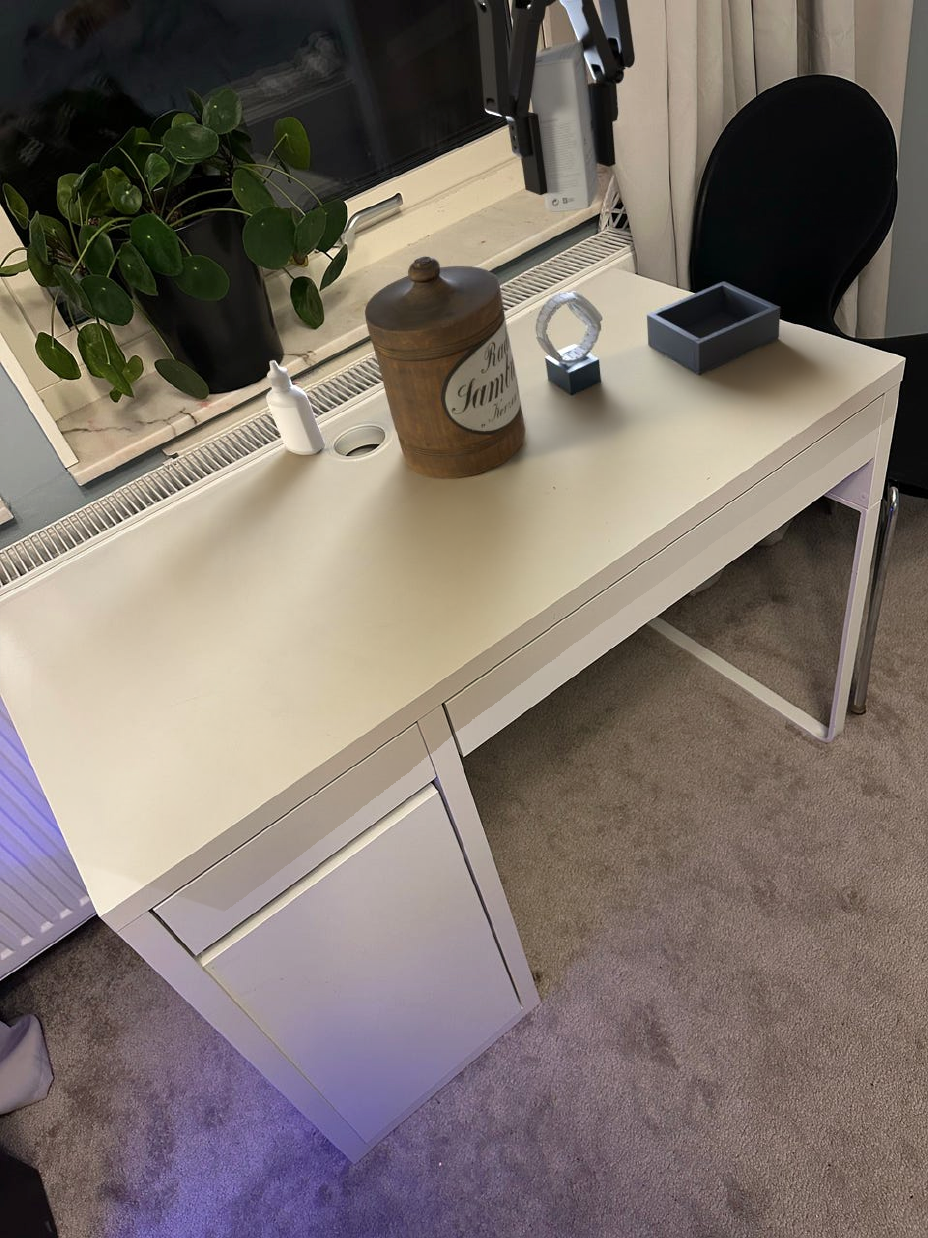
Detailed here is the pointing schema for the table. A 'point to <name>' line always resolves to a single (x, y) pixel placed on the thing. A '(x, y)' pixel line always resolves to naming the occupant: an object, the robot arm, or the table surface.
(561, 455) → the table surface
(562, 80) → the cosmetic box
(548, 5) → the robot arm
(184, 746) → the table surface
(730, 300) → the holder
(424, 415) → the wooden container
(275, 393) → the eye dropper bottle
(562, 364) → the watch
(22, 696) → the table surface
